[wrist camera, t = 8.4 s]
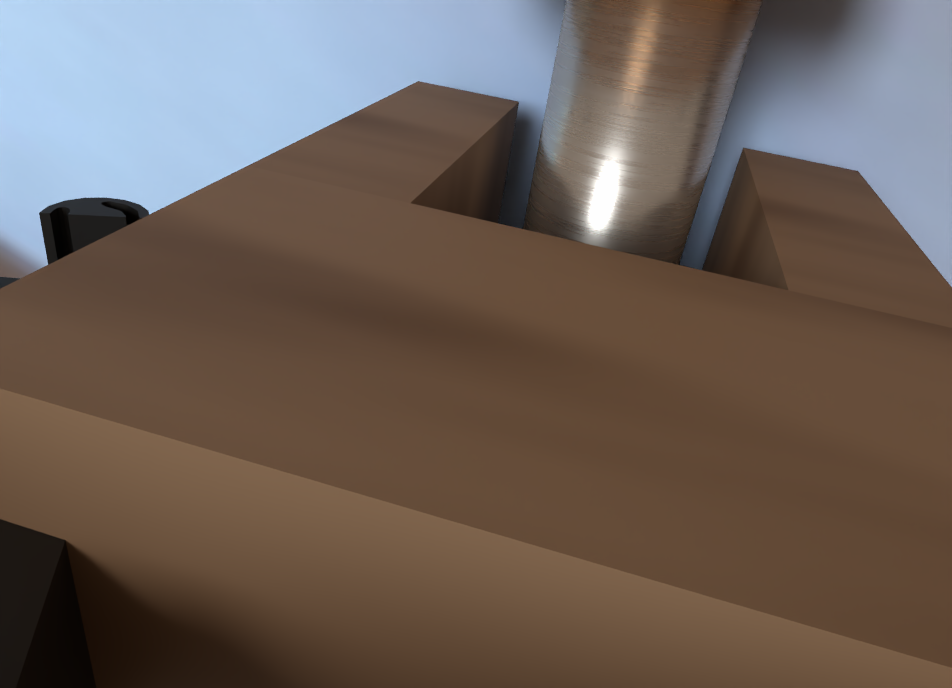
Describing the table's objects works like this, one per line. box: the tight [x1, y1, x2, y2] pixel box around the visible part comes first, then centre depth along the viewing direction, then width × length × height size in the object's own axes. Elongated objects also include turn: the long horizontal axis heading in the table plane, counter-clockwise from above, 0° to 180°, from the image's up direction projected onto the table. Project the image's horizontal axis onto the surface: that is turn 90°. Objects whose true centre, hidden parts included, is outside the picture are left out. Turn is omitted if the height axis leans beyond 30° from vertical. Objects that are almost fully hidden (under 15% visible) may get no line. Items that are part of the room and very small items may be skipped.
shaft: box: [523, 0, 763, 265], centre depth 14 cm, size 14×6×6 cm, turn 172°
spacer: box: [0, 81, 952, 688], centre depth 11 cm, size 5×9×12 cm, turn 82°
